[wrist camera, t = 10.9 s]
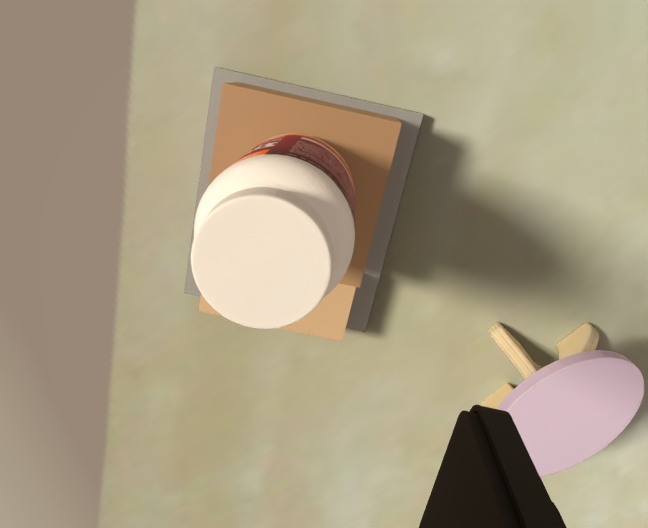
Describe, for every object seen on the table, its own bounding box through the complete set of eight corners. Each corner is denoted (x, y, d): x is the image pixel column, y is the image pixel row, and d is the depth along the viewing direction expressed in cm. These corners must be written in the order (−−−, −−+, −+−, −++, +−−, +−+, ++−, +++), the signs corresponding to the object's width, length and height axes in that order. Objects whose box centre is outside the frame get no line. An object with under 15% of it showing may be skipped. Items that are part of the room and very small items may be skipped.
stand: (217, 67, 30) (193, 65, 26) (421, 113, 30) (434, 119, 26) (187, 288, 35) (163, 320, 30) (364, 326, 35) (367, 363, 31)
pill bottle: (274, 107, 26) (223, 127, 16) (378, 174, 27) (396, 235, 16) (215, 210, 28) (136, 290, 18) (314, 270, 29) (294, 379, 18)
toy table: (499, 446, 38) (523, 508, 33) (435, 353, 36) (450, 403, 30) (629, 383, 36) (678, 438, 30) (570, 280, 33) (612, 319, 28)
